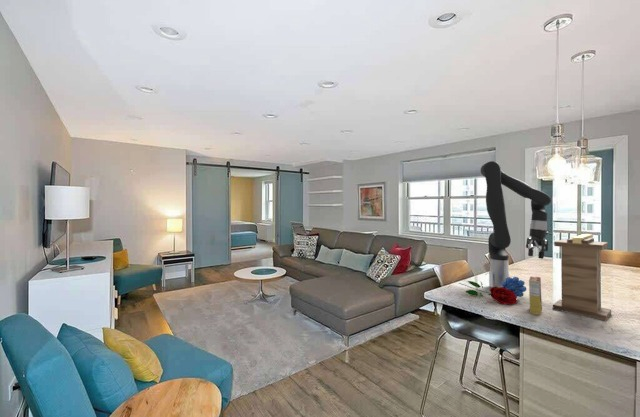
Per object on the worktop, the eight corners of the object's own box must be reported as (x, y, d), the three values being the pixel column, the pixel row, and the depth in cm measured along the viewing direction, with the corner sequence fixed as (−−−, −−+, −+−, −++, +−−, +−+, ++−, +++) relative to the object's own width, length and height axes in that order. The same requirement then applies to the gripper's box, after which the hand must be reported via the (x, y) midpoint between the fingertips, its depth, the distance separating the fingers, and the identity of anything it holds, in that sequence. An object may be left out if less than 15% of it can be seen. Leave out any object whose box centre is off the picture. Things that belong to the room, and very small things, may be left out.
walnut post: (605, 321, 119) (605, 241, 119) (552, 309, 134) (551, 238, 134) (611, 313, 128) (610, 239, 128) (560, 302, 142) (559, 236, 142)
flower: (456, 272, 162) (516, 288, 138) (463, 277, 168) (522, 294, 143) (451, 287, 160) (511, 306, 136) (458, 292, 166) (517, 311, 141)
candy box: (530, 307, 136) (530, 275, 136) (541, 309, 134) (541, 277, 134) (529, 313, 130) (528, 279, 130) (540, 315, 127) (540, 281, 127)
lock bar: (581, 243, 125) (581, 238, 125) (572, 243, 128) (572, 237, 128) (592, 239, 140) (592, 234, 140) (584, 238, 142) (584, 233, 142)
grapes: (529, 300, 147) (529, 277, 147) (524, 303, 143) (524, 279, 143) (504, 294, 156) (503, 273, 156) (499, 297, 152) (498, 274, 152)
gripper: (523, 227, 169) (520, 254, 169) (540, 228, 155) (537, 258, 154) (536, 228, 168) (533, 256, 168) (554, 230, 154) (551, 260, 154)
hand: (535, 257), depth 161 cm, fingers open, 8 cm apart
